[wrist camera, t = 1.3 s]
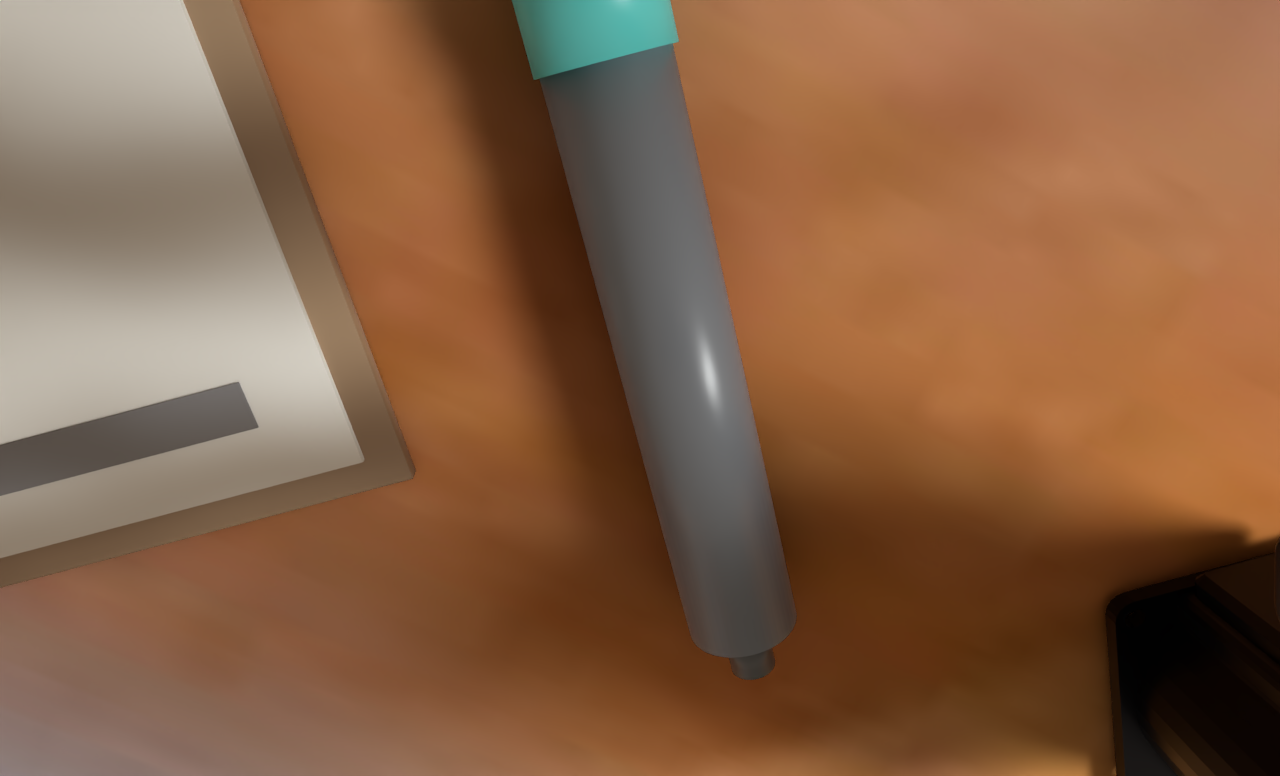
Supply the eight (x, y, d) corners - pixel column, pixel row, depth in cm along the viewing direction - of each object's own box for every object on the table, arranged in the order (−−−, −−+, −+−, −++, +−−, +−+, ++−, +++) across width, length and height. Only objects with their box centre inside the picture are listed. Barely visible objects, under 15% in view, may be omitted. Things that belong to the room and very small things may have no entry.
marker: (795, 619, 21) (826, 690, 18) (690, 646, 21) (708, 721, 18) (638, -96, 16) (653, -129, 13) (497, -60, 16) (486, -85, 13)
